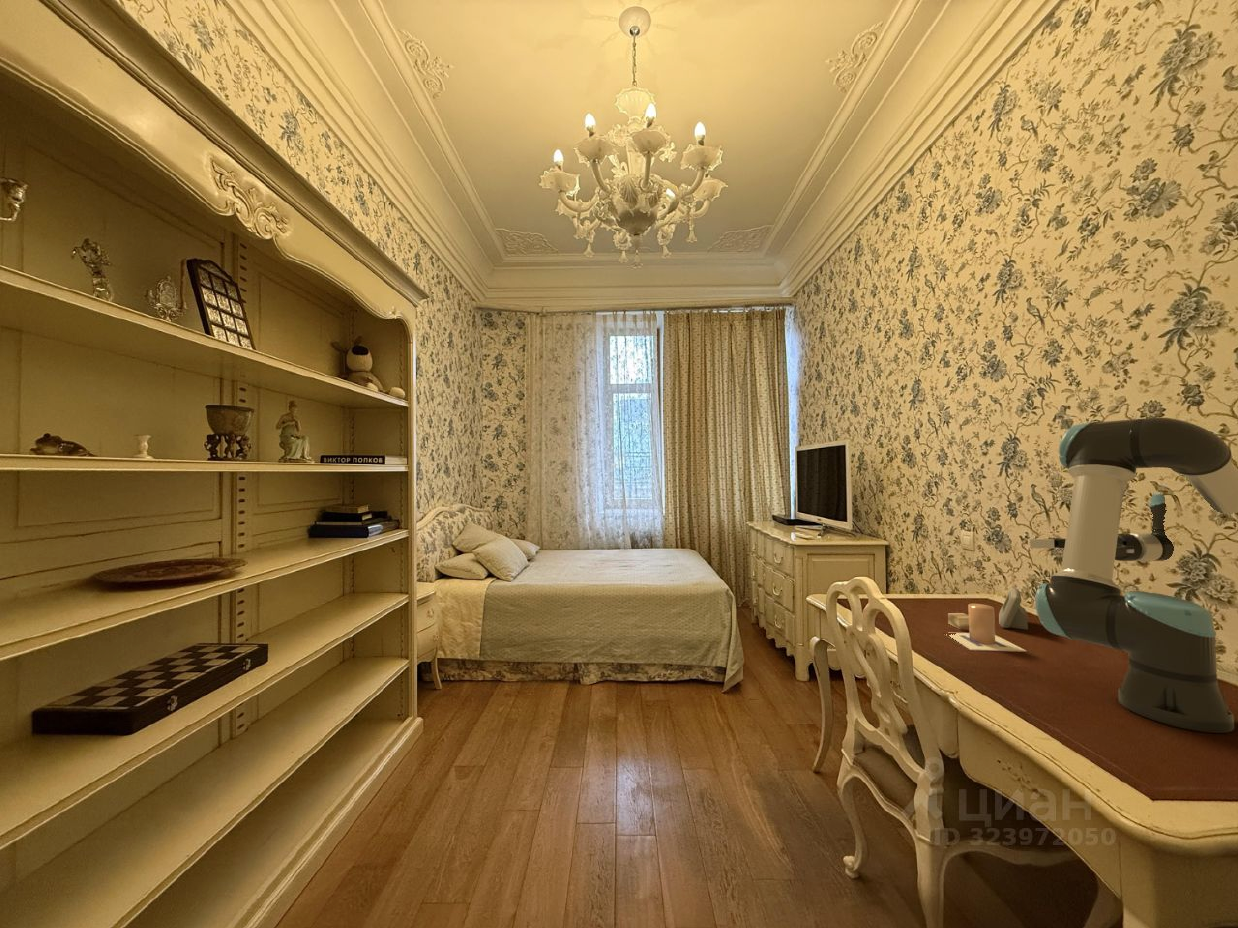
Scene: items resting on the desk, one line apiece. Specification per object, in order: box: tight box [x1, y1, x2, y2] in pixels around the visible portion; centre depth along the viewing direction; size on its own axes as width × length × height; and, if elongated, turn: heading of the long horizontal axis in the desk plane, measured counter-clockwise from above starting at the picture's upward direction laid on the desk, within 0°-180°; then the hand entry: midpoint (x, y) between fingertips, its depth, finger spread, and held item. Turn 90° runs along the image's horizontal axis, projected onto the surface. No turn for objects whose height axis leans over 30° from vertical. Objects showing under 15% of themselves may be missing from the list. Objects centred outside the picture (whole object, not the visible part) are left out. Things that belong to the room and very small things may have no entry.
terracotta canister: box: [967, 603, 996, 645], centre depth 136 cm, size 6×6×10 cm
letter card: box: [945, 632, 1027, 653], centre depth 136 cm, size 14×14×1 cm
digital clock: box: [998, 587, 1029, 631], centre depth 151 cm, size 16×9×11 cm, turn 129°
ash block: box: [947, 612, 969, 630], centre depth 149 cm, size 5×5×4 cm
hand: (1046, 547), depth 133 cm, fingers open, 13 cm apart
